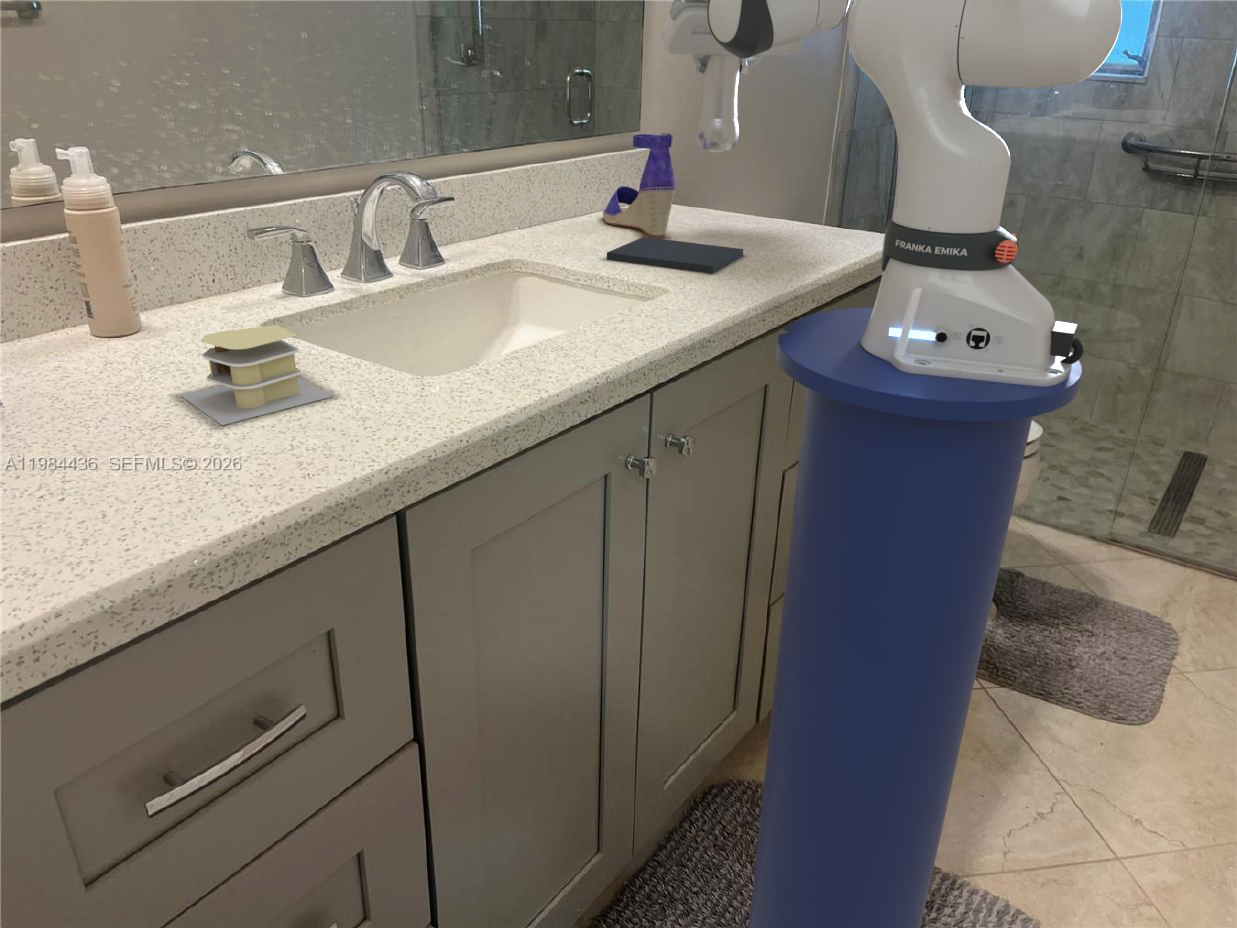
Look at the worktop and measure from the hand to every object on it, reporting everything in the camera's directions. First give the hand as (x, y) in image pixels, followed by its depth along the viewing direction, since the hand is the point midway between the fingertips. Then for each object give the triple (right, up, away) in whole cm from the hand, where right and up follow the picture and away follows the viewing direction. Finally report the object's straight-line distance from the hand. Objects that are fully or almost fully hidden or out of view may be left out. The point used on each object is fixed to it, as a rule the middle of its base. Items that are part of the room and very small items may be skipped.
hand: (720, 70), depth 141 cm
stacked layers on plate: (-47, -52, -56) cm, 90 cm away
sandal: (-12, -20, +13) cm, 27 cm away
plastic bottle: (0, -11, +4) cm, 12 cm away
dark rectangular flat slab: (-7, -29, -5) cm, 30 cm away
